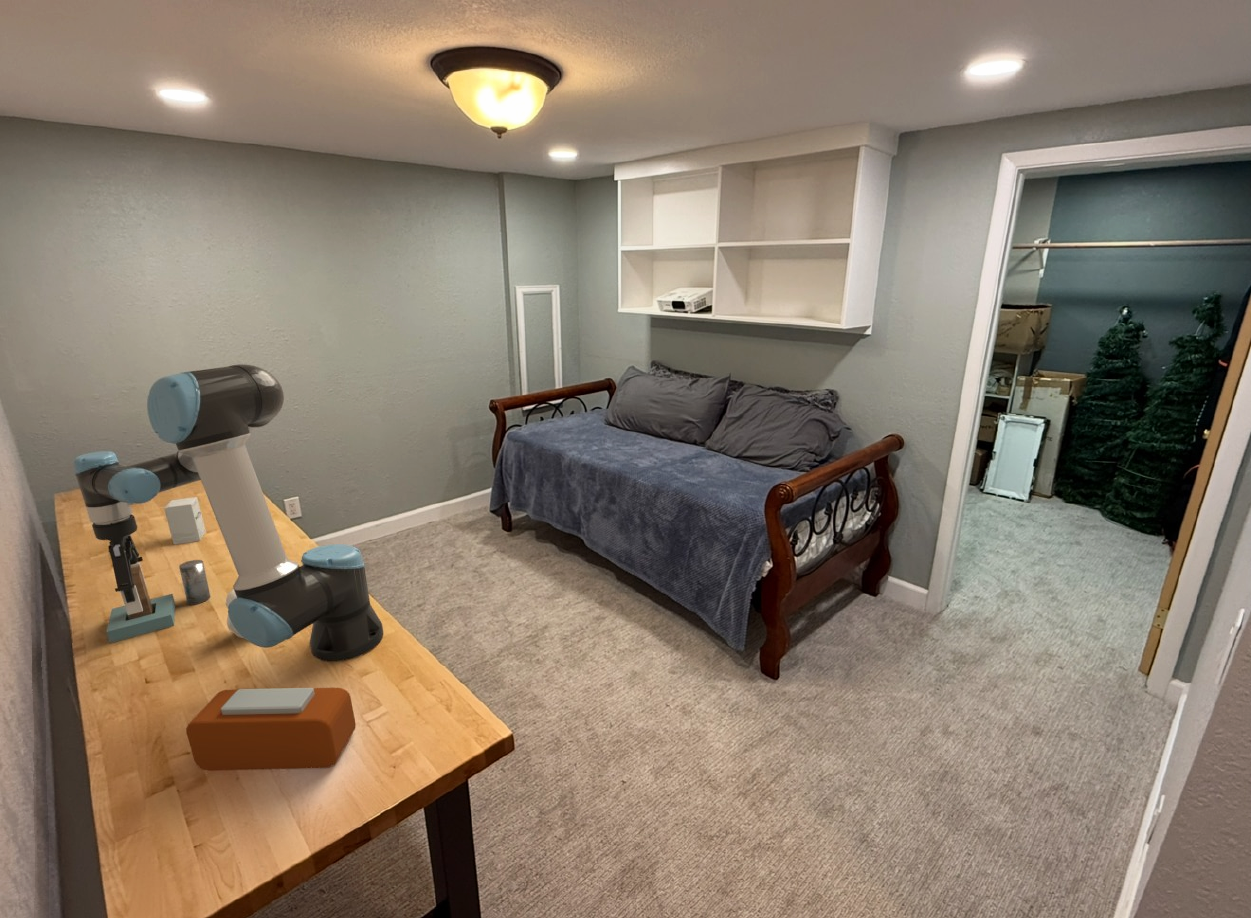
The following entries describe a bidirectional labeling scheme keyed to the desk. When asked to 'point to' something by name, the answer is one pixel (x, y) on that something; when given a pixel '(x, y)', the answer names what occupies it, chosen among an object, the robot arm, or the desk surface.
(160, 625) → the socket block
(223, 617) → the desk surface
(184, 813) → the desk surface
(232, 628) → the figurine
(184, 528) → the supplement box
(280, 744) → the block with grey pad
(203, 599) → the round bit
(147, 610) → the square bit
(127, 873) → the desk surface
